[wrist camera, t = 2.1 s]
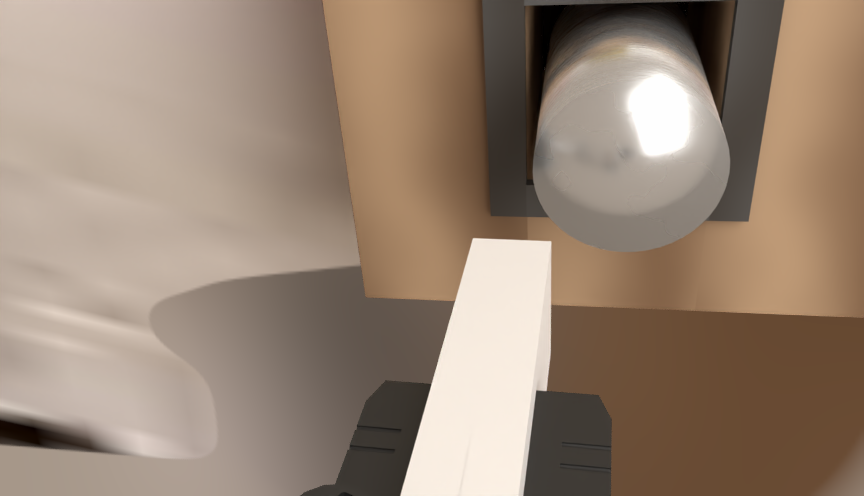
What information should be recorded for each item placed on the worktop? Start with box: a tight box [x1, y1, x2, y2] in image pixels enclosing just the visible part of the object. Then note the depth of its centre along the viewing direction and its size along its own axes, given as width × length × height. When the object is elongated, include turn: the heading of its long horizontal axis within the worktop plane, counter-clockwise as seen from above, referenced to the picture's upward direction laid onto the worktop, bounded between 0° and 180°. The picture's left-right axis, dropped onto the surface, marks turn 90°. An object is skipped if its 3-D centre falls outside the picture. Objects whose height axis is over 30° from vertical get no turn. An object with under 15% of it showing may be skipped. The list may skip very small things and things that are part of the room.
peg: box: [533, 2, 730, 252], centre depth 24 cm, size 5×5×9 cm
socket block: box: [322, 0, 864, 318], centre depth 28 cm, size 18×16×10 cm
